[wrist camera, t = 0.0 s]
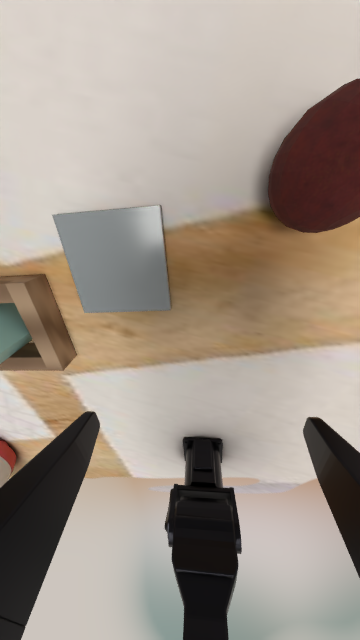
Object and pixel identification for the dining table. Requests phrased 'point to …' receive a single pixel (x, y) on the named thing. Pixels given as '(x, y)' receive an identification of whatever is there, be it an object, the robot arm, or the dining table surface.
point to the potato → (320, 165)
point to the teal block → (11, 331)
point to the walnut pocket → (37, 325)
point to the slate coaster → (117, 258)
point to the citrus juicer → (6, 462)
